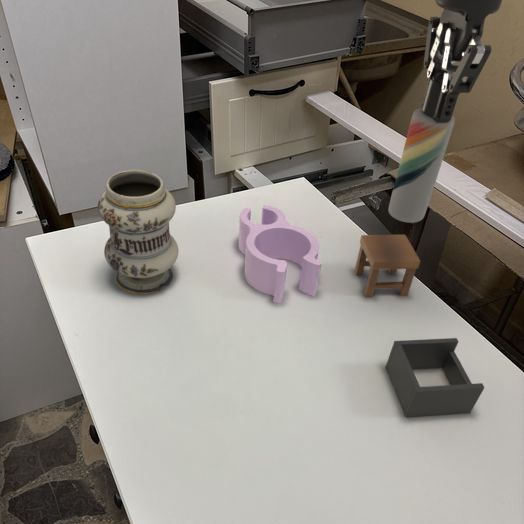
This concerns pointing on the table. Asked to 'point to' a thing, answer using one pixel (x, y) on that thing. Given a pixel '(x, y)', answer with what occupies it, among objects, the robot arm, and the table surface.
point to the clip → (277, 252)
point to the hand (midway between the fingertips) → (435, 114)
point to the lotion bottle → (421, 158)
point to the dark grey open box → (432, 397)
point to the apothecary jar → (139, 230)
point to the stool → (386, 261)
